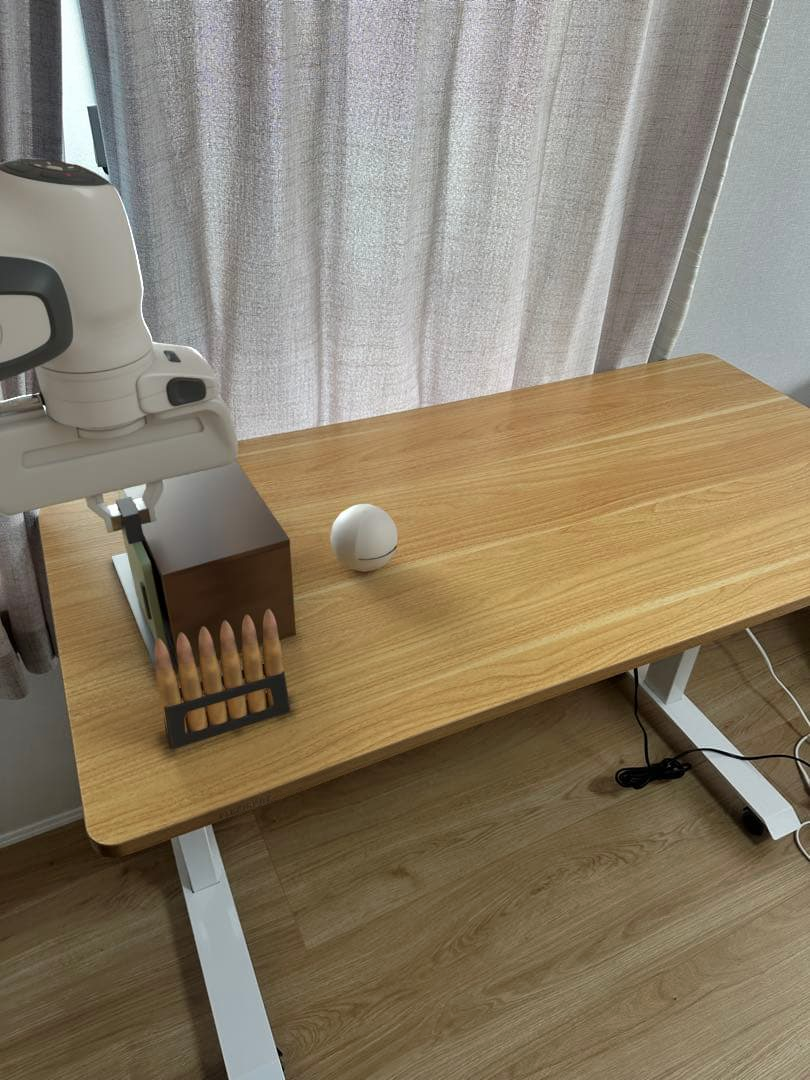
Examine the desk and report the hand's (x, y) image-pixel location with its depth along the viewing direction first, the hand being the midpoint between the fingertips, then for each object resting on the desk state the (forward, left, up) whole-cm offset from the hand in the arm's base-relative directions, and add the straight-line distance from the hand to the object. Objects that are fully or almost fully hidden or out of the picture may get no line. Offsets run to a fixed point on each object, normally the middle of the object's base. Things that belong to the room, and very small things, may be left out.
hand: (130, 523), depth 72 cm
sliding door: (0, 0, -12) cm, 12 cm away
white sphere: (+25, 0, -13) cm, 28 cm away
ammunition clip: (+3, -15, -13) cm, 20 cm away
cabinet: (+6, +3, -13) cm, 15 cm away
